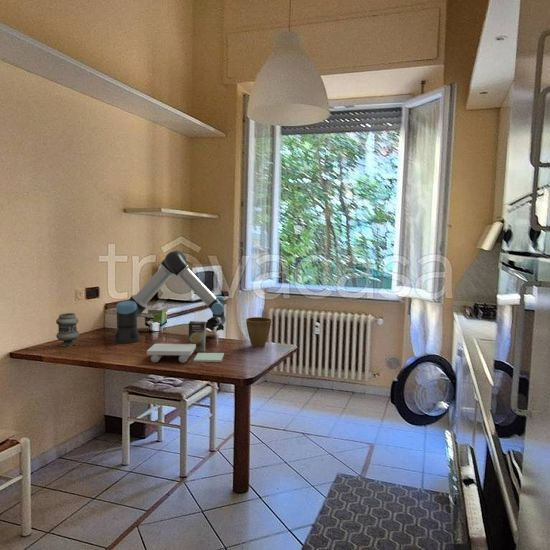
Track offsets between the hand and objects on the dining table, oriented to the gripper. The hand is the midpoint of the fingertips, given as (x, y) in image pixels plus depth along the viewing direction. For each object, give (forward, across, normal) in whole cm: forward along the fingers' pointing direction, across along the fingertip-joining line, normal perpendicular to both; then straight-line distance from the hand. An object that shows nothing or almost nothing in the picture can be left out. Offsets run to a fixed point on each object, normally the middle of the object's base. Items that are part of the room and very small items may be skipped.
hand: (203, 329), depth 266 cm
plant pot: (-8, -31, -10) cm, 34 cm away
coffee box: (+10, 0, -10) cm, 14 cm away
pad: (+24, -11, -10) cm, 28 cm away
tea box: (-40, +46, -10) cm, 62 cm away
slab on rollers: (+29, +7, -10) cm, 32 cm away
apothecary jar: (+14, +77, -9) cm, 79 cm away
